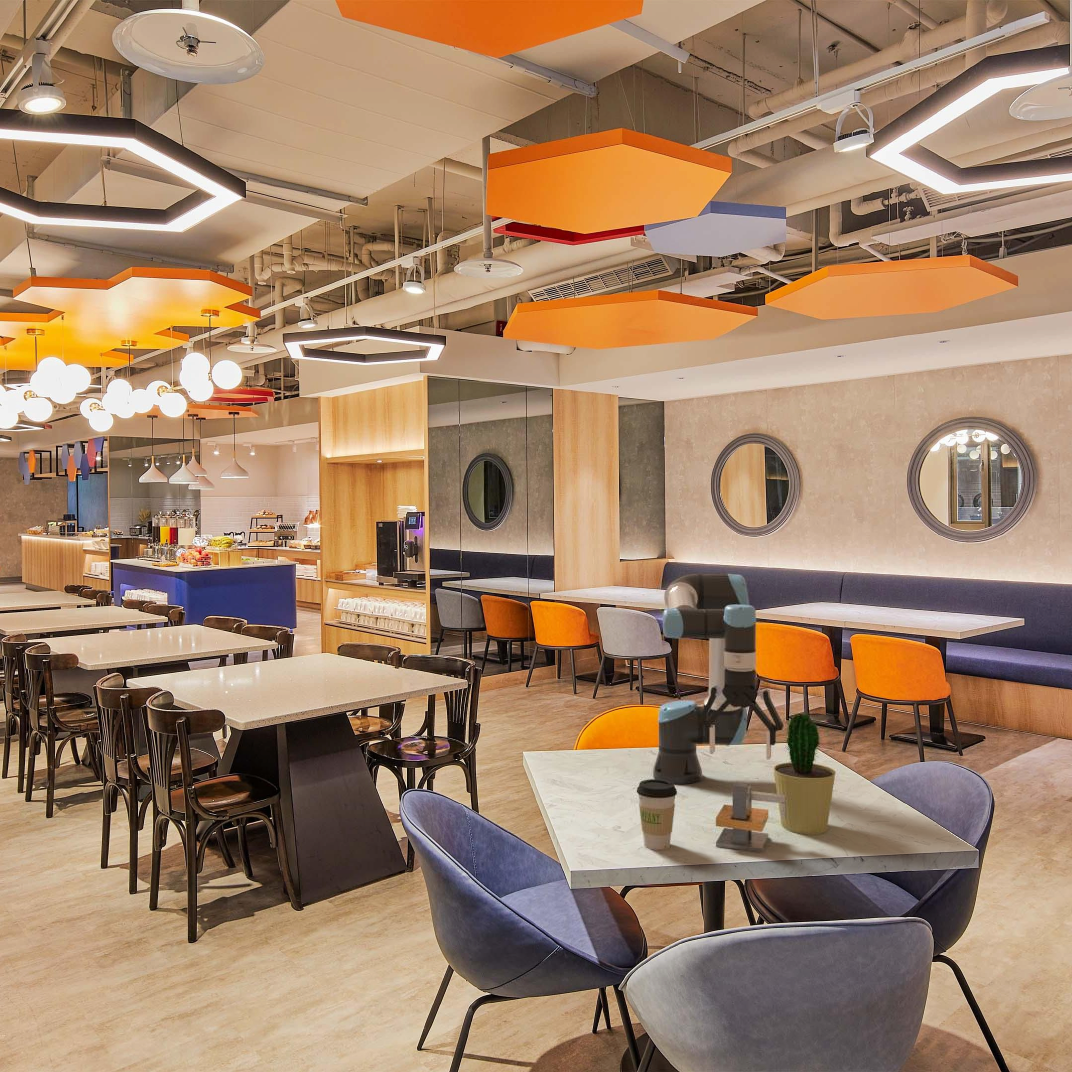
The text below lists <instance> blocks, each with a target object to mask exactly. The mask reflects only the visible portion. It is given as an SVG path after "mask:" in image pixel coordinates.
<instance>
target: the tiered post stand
mask: <svg viewBox="0 0 1072 1072" xmlns="http://www.w3.org/2000/svg"><path fill="white" fill-rule="evenodd" d="M752 801H756V802H766V803H774V804H775V803H776V804H778V803H782V818H785V817H786V795H782V794H777V793H772V792H765V791H763V792H762V791H753V790H752V786H751V785H749V784H748V821H743V820H734V819H733V804H731V805H730V804H723V806H722V807H721V808H720V811H719V812H718V814H717V815H716V817H715V827H721V828H723V829H722V831H721V832H720V835H719V836H718V838H717V839H716V842H715V847H716V848H725V849H731V850H738V851H745V852H751V853H752V852H754V853H760V854H762V853H763V851H764V850H765V847H766V844H767V842H768V840H769V837H770V836H769V833H767V832H763V830H764V828H765V827H766V824H767V822H768V820H769V809H765V808H758V807H757V808H756V807H752ZM733 828H735V829H743V830H748V842H747V844H746V845H743V844H736V843H733Z"/></svg>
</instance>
